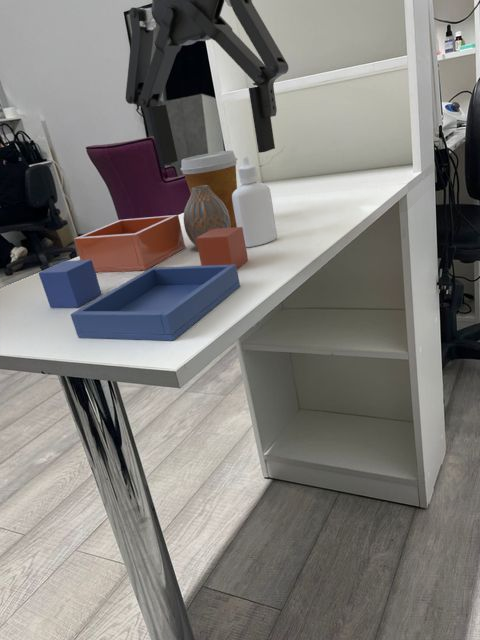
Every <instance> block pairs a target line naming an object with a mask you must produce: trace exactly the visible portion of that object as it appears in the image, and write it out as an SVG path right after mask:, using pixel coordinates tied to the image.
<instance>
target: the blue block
mask: <svg viewBox="0 0 480 640" xmlns="http://www.w3.org/2000/svg"><path fill="white" fill-rule="evenodd" d="M38 276H39V279H40V282H41V284H42V288H43V291H44V293H45V297H46V299H47V302H48V304H49V307H50V308H51V309H52V308H55V309H57V308H59V309H60V308H61V309H62V308H63V309H64V308H65V309H66V308H68V309H69V308H71V309H72V308H74V309H75V308H76V309H77V308H78V309H79V308H81V307H83V306H85V305H86V304H87V303H90V302H92V301H93V300H95V299H97V298H99V297H100V296H102V294H103V293H102V290H101V287H100V283H99V280H98V276H97V272H95V270H94V266H93V263H92V260H80V259H79V260H63V261H61V262H59V263H57V264H54V265H52V266H50V267H47V268H46V269H43V270H41V271H39V272H38Z"/></svg>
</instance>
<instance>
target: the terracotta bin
mask: <svg viewBox="0 0 480 640" xmlns="http://www.w3.org/2000/svg"><path fill="white" fill-rule="evenodd" d="M73 240H74V244H75V247H76V250H77V254H78V257H79V260H92V263H93V266H94V270H95V273H111V272H112V273H113V272H138V271H139V272H141V271H140V270H142V271H147V270H148V269H150V268H153V267H154V266H156V265H157V264H159V263H161V262H163V261H165V260H166V259H169V258H170V257H171V256H173V255H175V254H176V253H179V252H180V251H182V250H183V249H186V244H185V239H184V233H183V230H182V226H181V222H180V217H179V214H174V215H173V214H172V215H161V216H160V215H159V216H150V217H135V218H126V219H119V220H116V221H114V222H111V223H108V224H106V225H104V226H101V227H99V228H97V229H94V230H91V231H89V232H87V233H85V234H82V235H80V236H77V237H75V238H73Z"/></svg>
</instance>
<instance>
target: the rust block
mask: <svg viewBox="0 0 480 640" xmlns="http://www.w3.org/2000/svg"><path fill="white" fill-rule="evenodd" d="M196 242H197V246H196V247H197V250H198V256H199V260H200V261H199V262H200V266H207V265H236V266H237V269H239V268H241V267H242V266H243V265H244V264H245V263H247V262H249V258H248V251H247V247H246V245H245V239H244V234H243V228H242V227H233V228H218V229H211V230H210V231H208V232H206V233H204V234H202V235H201V236H199V237H197V238H196Z"/></svg>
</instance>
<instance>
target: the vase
mask: <svg viewBox="0 0 480 640" xmlns="http://www.w3.org/2000/svg"><path fill="white" fill-rule="evenodd" d="M183 224H184V225H183V226H184V230H185V233H186V235H187V237H188V239H189V240H190V242H191V243H192V245H194V246H195V247H197V242H196V238H197V237H199V236H201V235H202V234H204V233H206V232H208V231H210V230H211V229H218V228H230V225H231V224H230V217H229V213H228V210H227V208H226V206H225V204H224V203H223V202H222V201H221V200H220V199H219V198H218V197H217V196H216V195H215V194H214V193H213V192H212V191H211V189H210V188H209V186H208V185H202V186H197V187H193V188H192V192H191V193H190V196H189V199H188V200H187V203H186V204H185V207H184V211H183Z"/></svg>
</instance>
